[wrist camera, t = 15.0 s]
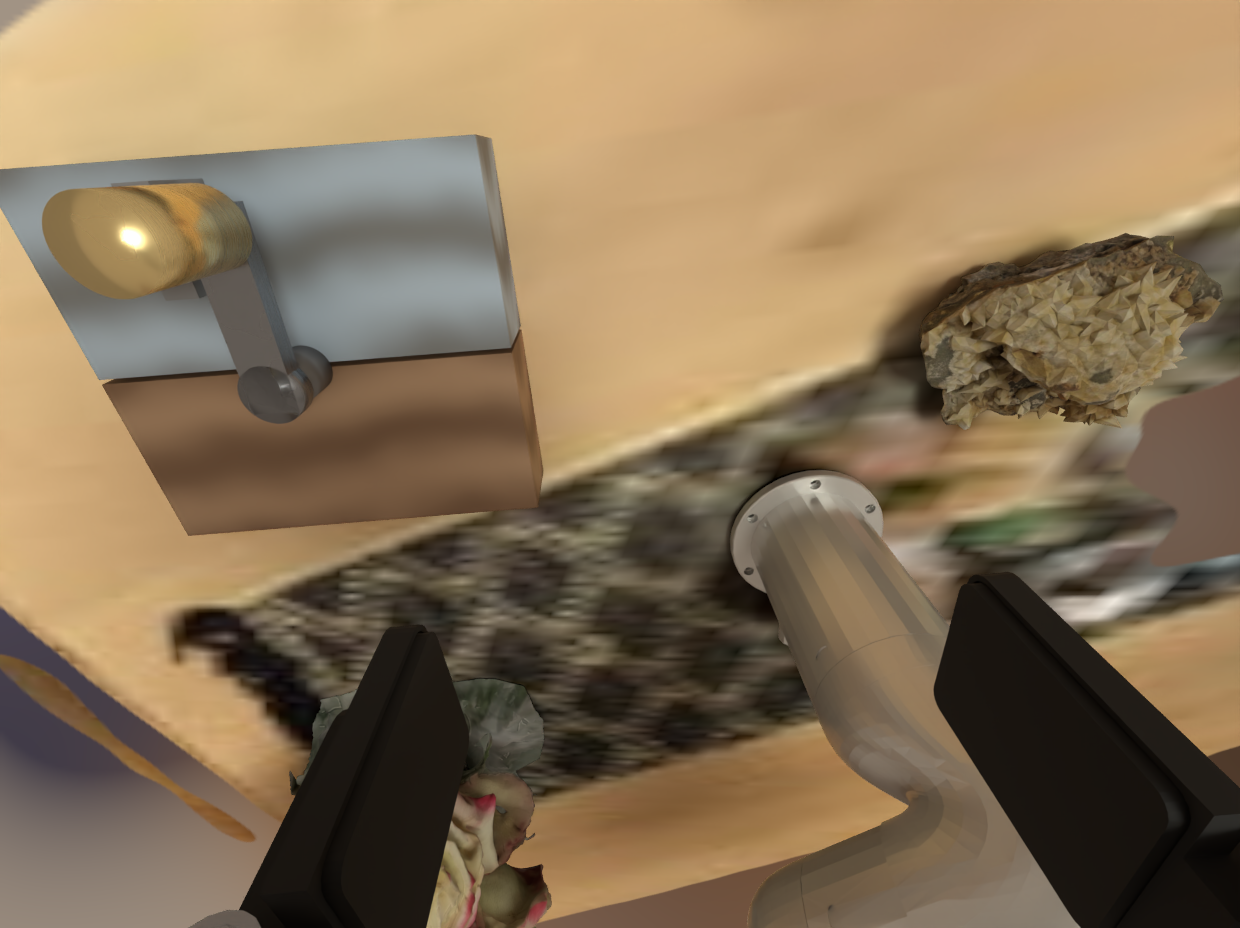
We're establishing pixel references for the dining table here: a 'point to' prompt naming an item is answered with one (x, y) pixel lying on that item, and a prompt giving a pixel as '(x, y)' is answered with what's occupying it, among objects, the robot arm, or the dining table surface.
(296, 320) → the lever switch panel
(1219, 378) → the dining table surface
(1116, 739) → the robot arm
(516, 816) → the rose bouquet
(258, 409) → the switch lever
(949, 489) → the dining table surface
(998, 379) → the mineral specimen
